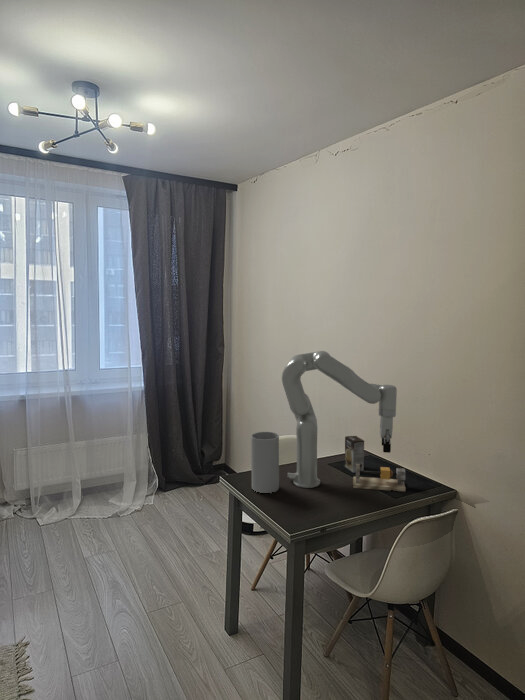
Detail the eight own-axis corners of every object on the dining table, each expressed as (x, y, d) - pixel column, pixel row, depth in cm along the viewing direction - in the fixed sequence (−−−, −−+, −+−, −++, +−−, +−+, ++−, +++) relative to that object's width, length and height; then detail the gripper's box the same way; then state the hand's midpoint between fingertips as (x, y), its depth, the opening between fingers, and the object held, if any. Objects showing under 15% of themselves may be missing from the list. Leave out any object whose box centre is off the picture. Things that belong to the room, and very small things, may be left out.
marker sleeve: (380, 479, 210) (381, 470, 210) (380, 475, 215) (380, 466, 214) (390, 479, 210) (390, 470, 209) (389, 476, 214) (389, 467, 213)
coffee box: (344, 466, 237) (344, 436, 235) (355, 465, 239) (355, 435, 237) (352, 473, 228) (353, 441, 227) (364, 471, 230) (364, 440, 229)
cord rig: (353, 487, 210) (353, 469, 209) (353, 479, 220) (353, 462, 219) (405, 491, 206) (406, 472, 205) (403, 482, 216) (403, 465, 215)
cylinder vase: (279, 494, 204) (279, 439, 201) (251, 494, 204) (250, 439, 201) (278, 483, 216) (278, 431, 213) (251, 483, 216) (251, 431, 213)
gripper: (377, 407, 218) (376, 442, 220) (379, 416, 201) (378, 454, 203) (394, 408, 216) (392, 443, 218) (397, 417, 200) (396, 455, 201)
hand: (385, 448), depth 211 cm, fingers open, 9 cm apart
